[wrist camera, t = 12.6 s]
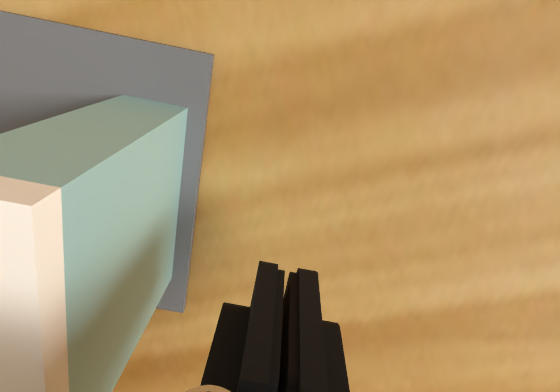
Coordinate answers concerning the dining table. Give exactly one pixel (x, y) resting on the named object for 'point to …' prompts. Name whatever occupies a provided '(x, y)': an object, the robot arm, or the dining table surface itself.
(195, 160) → the mat
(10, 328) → the slab
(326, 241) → the dining table surface
